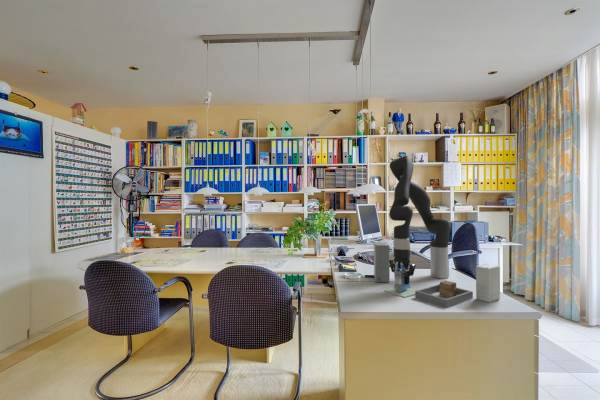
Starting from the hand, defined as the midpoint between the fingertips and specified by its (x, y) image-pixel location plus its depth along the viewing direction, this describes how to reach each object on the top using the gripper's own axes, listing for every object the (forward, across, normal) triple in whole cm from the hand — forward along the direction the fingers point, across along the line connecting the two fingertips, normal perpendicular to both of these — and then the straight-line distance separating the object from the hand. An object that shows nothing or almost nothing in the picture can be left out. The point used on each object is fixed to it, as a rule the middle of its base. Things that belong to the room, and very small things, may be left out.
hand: (402, 282), depth 141 cm
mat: (+4, 0, 0) cm, 4 cm away
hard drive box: (+5, -22, +10) cm, 24 cm away
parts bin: (+4, +16, +8) cm, 19 cm away
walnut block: (+5, +15, +13) cm, 20 cm away
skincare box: (+5, +28, +22) cm, 36 cm away
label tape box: (+3, 0, 0) cm, 3 cm away
